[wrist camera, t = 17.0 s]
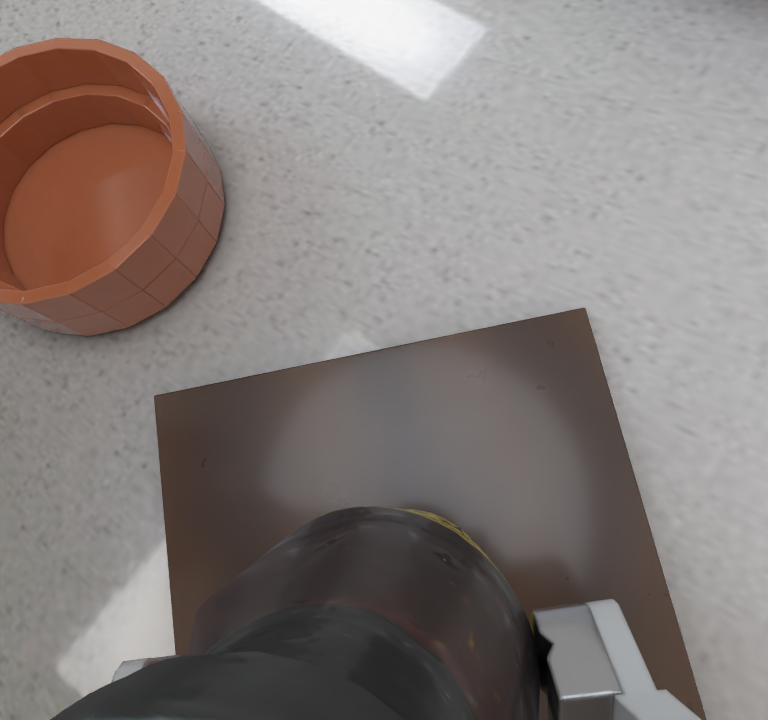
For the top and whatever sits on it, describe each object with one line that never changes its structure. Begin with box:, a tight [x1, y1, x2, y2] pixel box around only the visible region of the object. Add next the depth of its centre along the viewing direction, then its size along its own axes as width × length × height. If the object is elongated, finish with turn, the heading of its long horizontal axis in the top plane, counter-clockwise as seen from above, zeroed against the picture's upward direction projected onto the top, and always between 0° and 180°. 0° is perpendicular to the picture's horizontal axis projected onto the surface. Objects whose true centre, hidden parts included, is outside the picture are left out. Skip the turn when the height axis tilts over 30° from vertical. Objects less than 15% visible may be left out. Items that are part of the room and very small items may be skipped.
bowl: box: [0, 38, 225, 336], centre depth 27 cm, size 13×13×5 cm
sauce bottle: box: [50, 506, 540, 720], centre depth 12 cm, size 7×6×20 cm
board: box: [154, 308, 706, 720], centre depth 23 cm, size 20×20×1 cm
